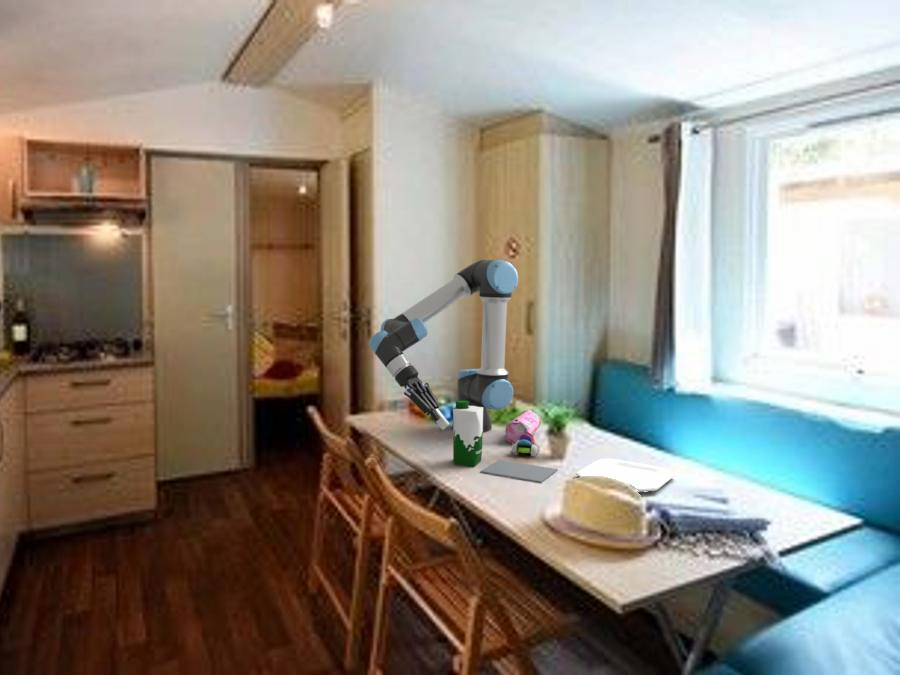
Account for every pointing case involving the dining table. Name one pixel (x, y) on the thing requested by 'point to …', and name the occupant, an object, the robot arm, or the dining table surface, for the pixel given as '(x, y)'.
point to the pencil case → (522, 425)
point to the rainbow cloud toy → (526, 445)
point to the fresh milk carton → (467, 434)
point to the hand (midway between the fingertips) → (446, 426)
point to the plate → (629, 473)
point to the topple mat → (519, 471)
